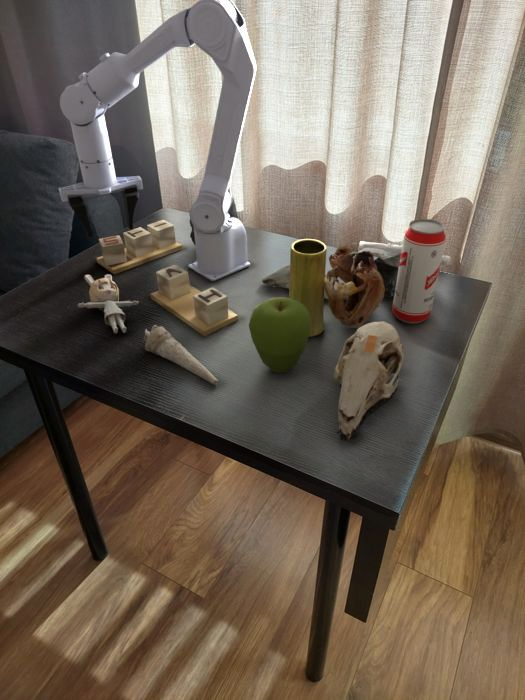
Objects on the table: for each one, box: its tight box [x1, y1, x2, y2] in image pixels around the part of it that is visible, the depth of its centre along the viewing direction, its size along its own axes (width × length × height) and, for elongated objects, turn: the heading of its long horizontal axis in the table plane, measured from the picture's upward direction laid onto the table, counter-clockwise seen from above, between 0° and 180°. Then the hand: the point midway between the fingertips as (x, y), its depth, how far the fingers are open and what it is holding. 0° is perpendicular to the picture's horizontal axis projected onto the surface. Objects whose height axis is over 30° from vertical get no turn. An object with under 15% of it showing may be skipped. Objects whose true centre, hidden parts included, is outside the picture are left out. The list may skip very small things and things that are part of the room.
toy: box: [77, 273, 139, 334], centre depth 89 cm, size 10×5×15 cm
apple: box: [248, 296, 311, 374], centre depth 74 cm, size 9×8×12 cm
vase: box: [288, 238, 327, 338], centre depth 81 cm, size 6×6×14 cm
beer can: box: [391, 218, 447, 325], centre depth 83 cm, size 6×6×16 cm
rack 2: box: [150, 264, 239, 337], centre depth 89 cm, size 16×7×5 cm, turn 42°
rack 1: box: [96, 219, 183, 275], centre depth 106 cm, size 16×7×5 cm, turn 132°
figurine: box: [357, 239, 454, 268], centre depth 101 cm, size 7×4×18 cm
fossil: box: [261, 264, 348, 300], centre depth 95 cm, size 11×5×15 cm
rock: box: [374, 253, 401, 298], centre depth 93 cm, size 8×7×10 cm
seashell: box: [143, 324, 219, 386], centre depth 78 cm, size 4×7×15 cm
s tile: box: [98, 234, 127, 266], centre depth 102 cm, size 4×4×4 cm
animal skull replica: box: [333, 320, 404, 441], centre depth 68 cm, size 8×17×10 cm, turn 154°
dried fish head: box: [325, 242, 385, 329], centre depth 86 cm, size 21×9×10 cm, turn 169°
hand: (110, 231), depth 100 cm, fingers open, 7 cm apart
